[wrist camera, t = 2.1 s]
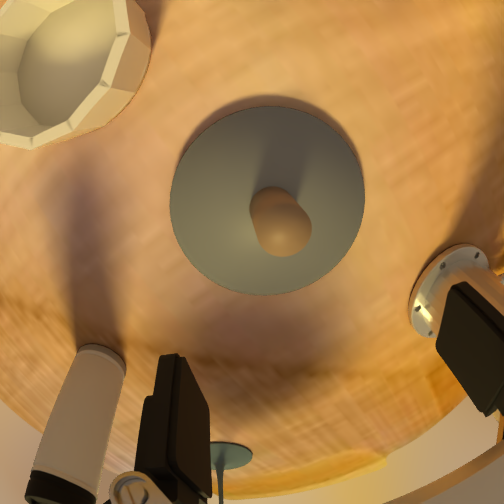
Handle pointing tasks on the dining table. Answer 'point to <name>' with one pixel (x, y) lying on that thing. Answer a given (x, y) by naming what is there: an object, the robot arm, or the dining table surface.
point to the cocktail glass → (227, 460)
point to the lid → (267, 200)
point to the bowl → (68, 67)
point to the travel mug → (78, 430)
